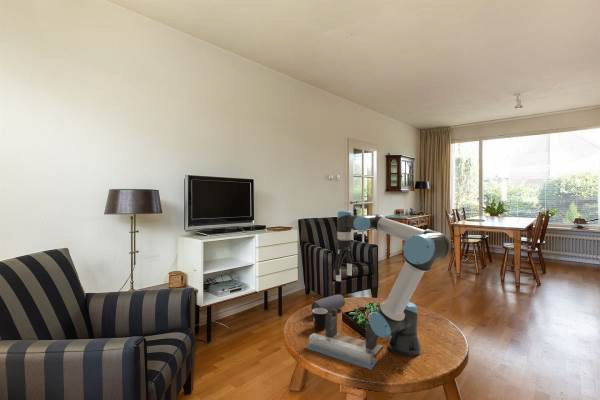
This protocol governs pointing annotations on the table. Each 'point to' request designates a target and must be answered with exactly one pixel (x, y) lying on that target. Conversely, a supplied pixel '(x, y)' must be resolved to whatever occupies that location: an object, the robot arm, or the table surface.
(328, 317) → the wooden stand
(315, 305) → the bluetooth speaker
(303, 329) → the table surface
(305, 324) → the table surface
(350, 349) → the rail
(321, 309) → the coffee mug
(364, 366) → the mat
